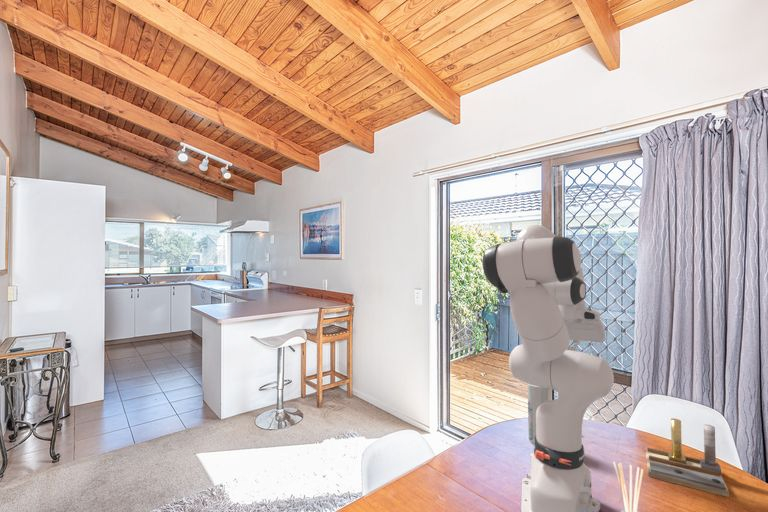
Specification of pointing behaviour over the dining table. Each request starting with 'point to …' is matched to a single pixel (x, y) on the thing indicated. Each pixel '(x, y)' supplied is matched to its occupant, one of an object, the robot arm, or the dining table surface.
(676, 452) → the leg
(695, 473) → the base
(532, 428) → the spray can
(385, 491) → the dining table surface
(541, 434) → the robot arm
